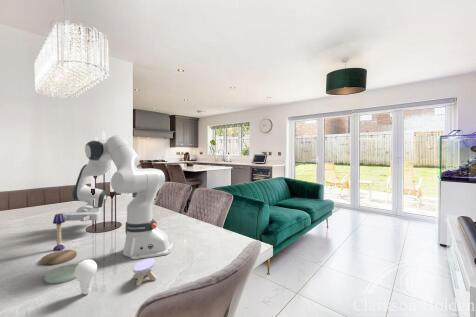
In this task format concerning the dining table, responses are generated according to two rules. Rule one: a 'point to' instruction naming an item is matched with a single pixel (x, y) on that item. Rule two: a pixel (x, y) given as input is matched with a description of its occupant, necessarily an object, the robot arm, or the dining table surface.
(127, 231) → the robot arm
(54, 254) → the walnut coaster
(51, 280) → the sage coaster
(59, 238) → the toy lamp
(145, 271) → the toy table
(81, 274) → the lightbulb
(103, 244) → the dining table surface
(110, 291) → the dining table surface
